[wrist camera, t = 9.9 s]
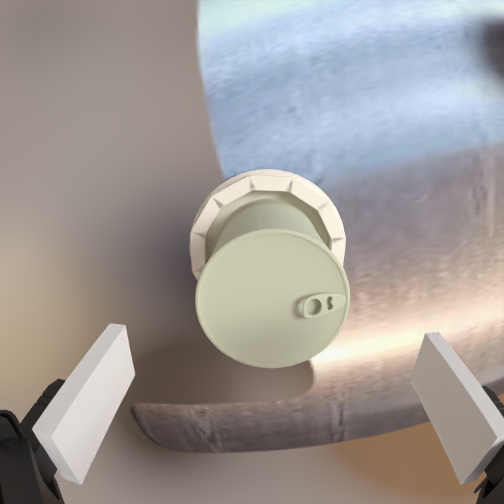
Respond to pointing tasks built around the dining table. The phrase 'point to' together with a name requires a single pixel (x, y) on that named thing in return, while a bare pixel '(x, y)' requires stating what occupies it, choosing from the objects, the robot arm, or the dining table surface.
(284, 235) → the can
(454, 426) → the robot arm
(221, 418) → the dining table surface
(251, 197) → the saucer
